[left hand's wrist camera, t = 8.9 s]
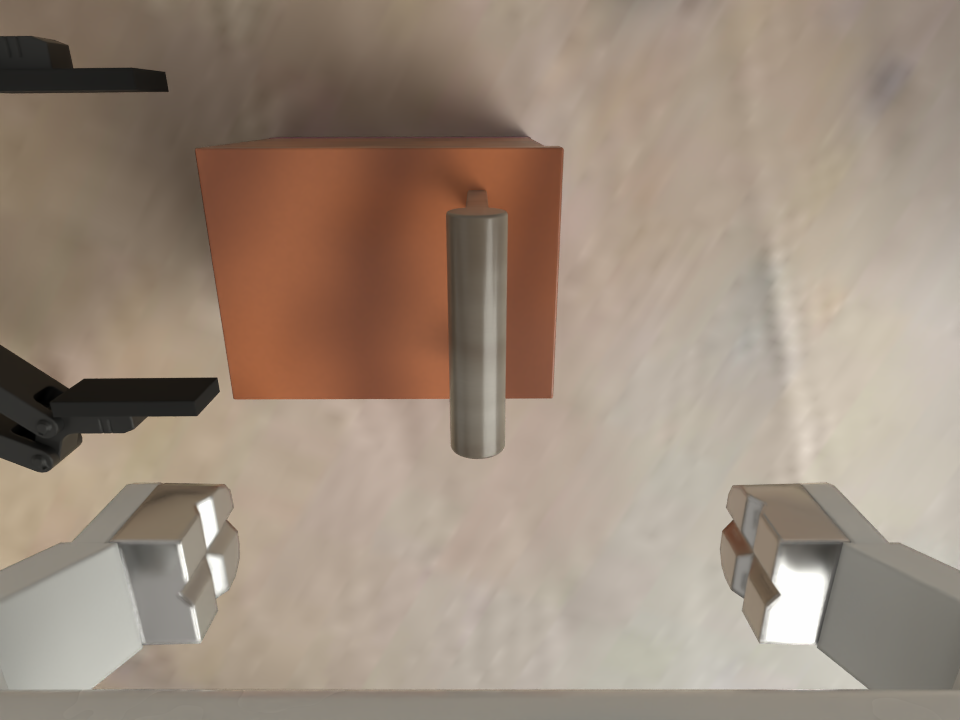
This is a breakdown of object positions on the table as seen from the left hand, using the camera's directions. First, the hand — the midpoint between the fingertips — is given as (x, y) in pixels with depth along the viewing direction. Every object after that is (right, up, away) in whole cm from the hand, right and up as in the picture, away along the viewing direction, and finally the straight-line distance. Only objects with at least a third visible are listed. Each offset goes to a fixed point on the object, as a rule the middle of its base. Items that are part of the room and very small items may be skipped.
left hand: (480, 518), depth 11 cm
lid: (-4, +6, +15) cm, 17 cm away
